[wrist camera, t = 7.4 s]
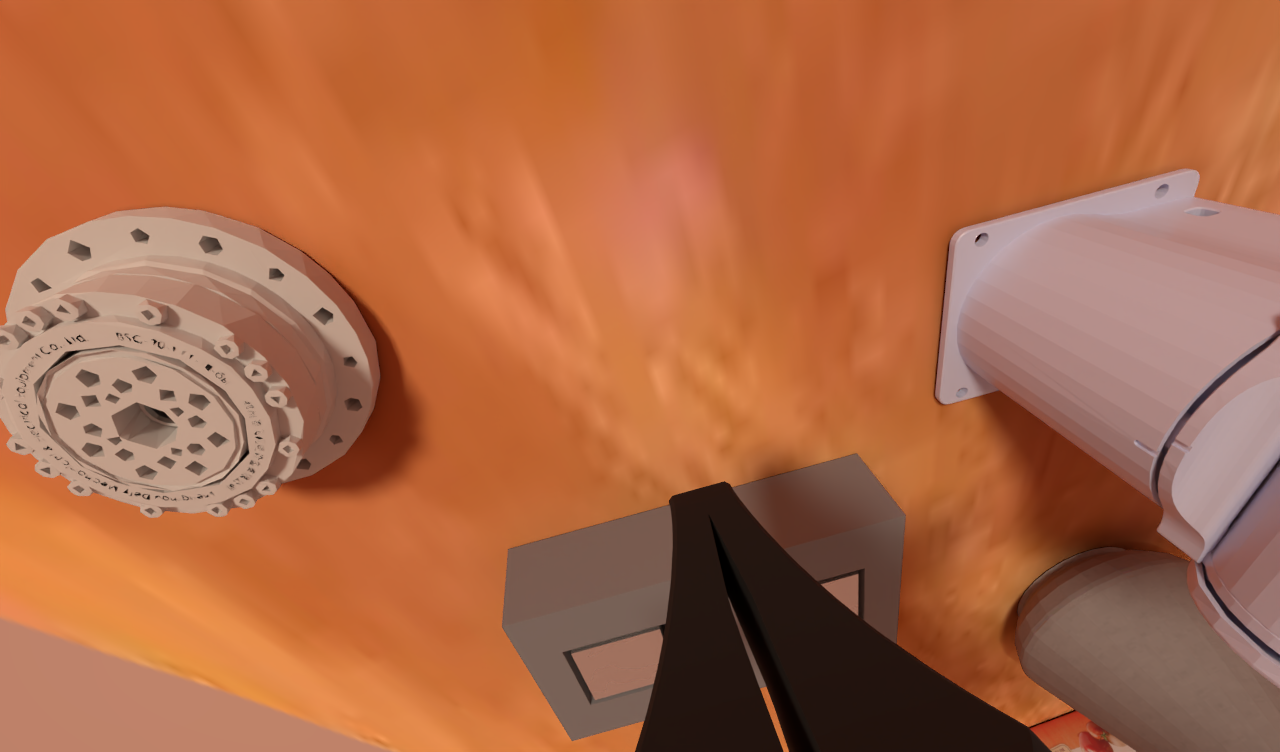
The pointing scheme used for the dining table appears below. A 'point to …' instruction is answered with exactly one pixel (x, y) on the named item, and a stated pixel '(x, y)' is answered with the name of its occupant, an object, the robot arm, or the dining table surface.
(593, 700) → the block
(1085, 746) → the cracker box
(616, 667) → the greyish pink cube
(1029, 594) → the coffee pot
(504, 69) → the dining table surface
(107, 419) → the mechanical component
